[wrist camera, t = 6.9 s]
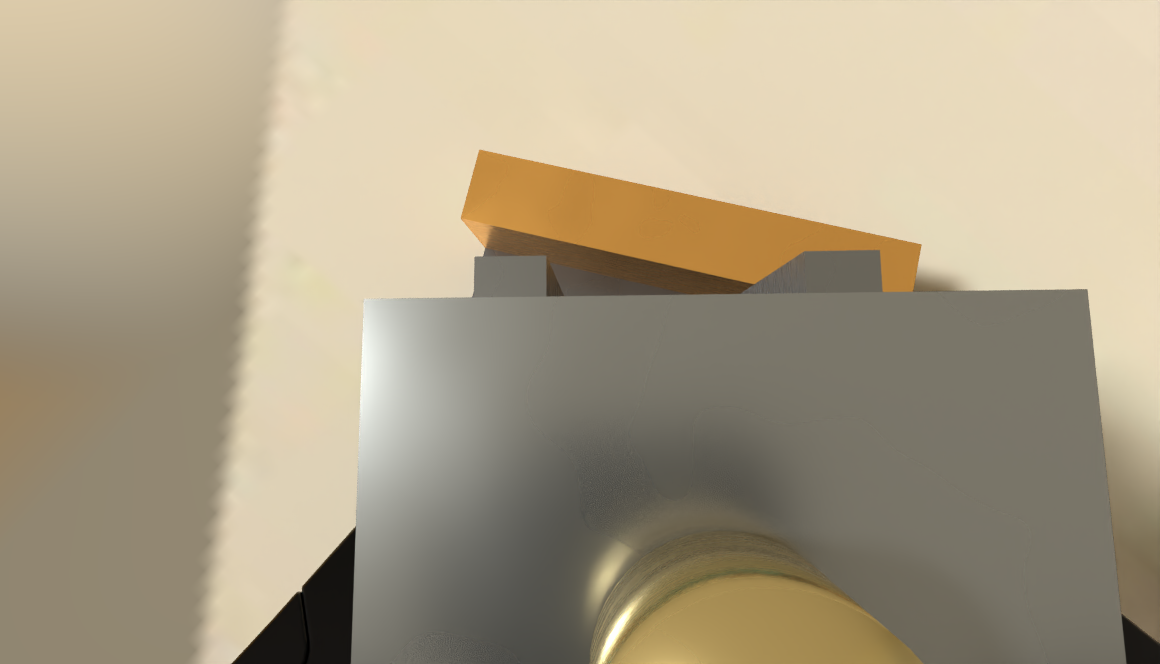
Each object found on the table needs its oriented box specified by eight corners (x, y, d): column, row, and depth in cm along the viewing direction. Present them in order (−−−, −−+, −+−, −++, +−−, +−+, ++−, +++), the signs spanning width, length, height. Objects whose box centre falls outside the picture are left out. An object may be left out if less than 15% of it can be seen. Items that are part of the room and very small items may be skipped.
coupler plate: (778, 643, 16) (834, 724, 12) (415, 545, 17) (359, 591, 13) (849, 277, 18) (921, 244, 14) (506, 201, 18) (479, 150, 14)
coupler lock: (719, 538, 15) (1453, 1500, 2) (545, 536, 15) (218, 1399, 2) (713, 335, 16) (1253, 97, 3) (545, 337, 16) (286, 124, 3)
